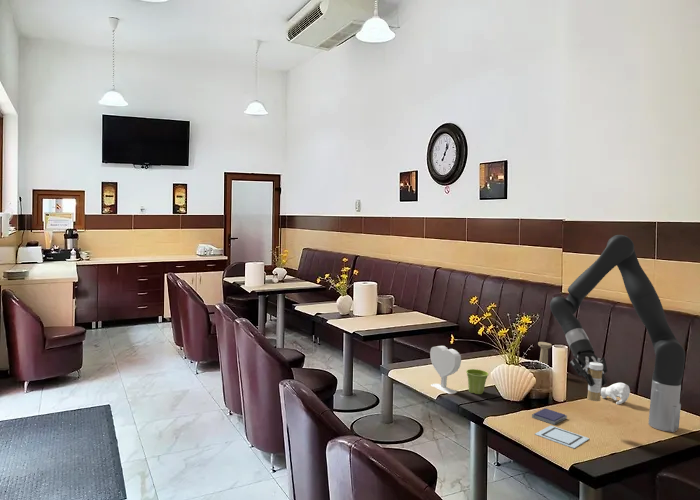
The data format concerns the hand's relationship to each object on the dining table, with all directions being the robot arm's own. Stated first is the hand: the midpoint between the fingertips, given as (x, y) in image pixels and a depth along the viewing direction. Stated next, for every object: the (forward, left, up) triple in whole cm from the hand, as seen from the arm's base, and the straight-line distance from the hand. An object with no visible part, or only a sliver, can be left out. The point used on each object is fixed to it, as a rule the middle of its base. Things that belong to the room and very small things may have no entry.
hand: (598, 384), depth 190 cm
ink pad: (+17, +1, -17) cm, 24 cm away
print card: (+6, +14, -17) cm, 23 cm away
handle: (+46, -51, -17) cm, 71 cm away
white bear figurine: (+9, -40, -18) cm, 44 cm away
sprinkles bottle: (+2, -1, -6) cm, 7 cm away
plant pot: (+51, -1, -18) cm, 54 cm away
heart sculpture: (+62, +7, -18) cm, 65 cm away
